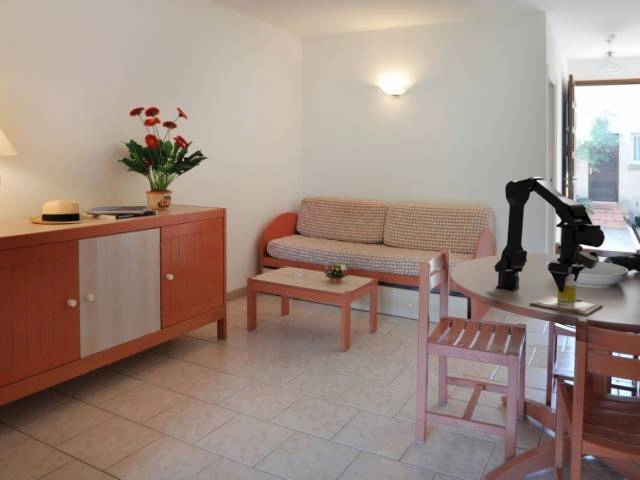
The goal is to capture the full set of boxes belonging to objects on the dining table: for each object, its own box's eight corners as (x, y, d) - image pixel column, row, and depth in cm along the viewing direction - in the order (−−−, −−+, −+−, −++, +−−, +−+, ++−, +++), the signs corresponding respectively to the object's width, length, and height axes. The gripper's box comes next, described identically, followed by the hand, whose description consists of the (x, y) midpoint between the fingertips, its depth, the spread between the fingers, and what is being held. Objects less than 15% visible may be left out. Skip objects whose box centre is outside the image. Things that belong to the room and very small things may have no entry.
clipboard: (529, 305, 184) (530, 300, 184) (547, 297, 194) (547, 292, 194) (586, 316, 172) (587, 311, 172) (602, 307, 182) (602, 302, 182)
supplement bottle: (569, 306, 179) (571, 276, 178) (553, 302, 183) (555, 273, 182) (578, 303, 182) (580, 274, 181) (562, 300, 187) (564, 271, 185)
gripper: (586, 249, 168) (582, 299, 170) (606, 242, 181) (602, 289, 183) (548, 244, 175) (545, 293, 178) (571, 238, 189) (568, 283, 191)
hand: (566, 289), depth 182 cm, fingers open, 9 cm apart
